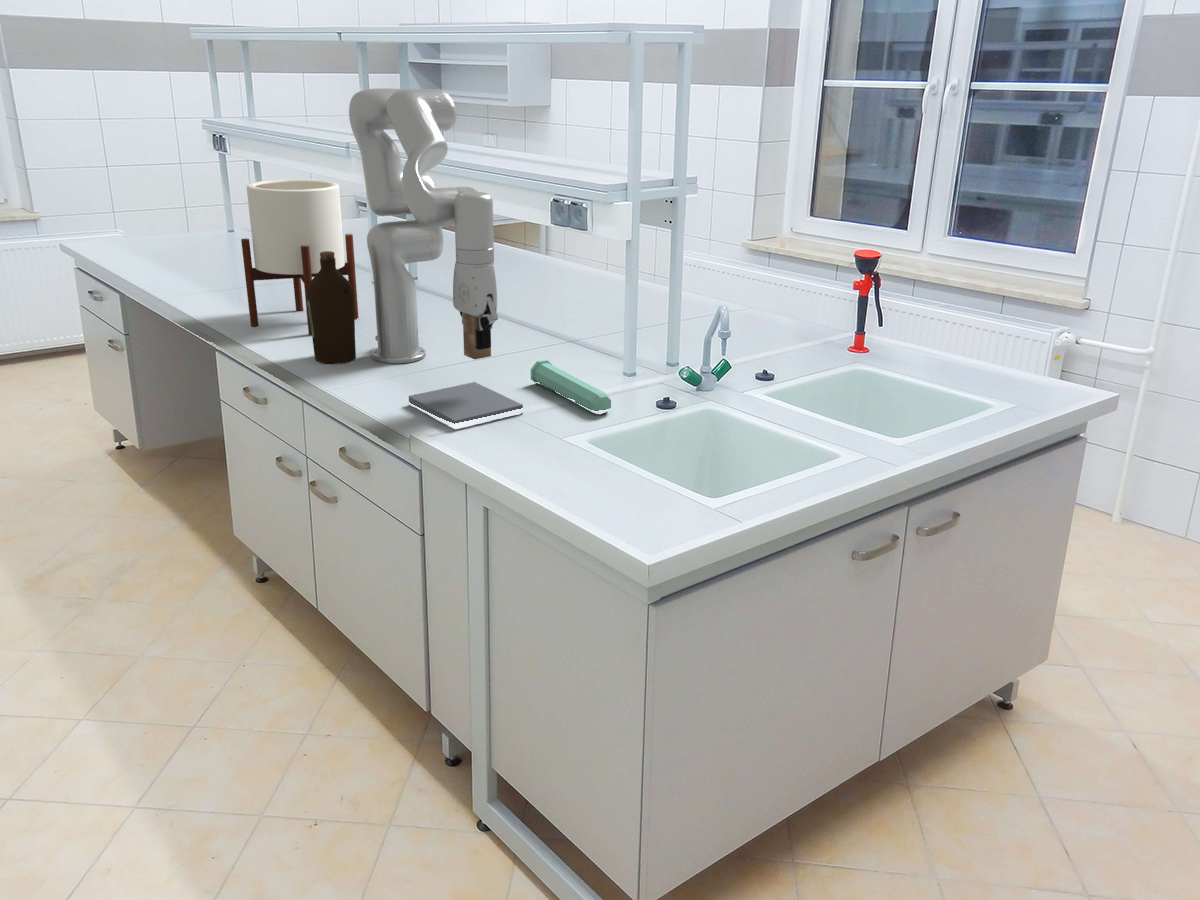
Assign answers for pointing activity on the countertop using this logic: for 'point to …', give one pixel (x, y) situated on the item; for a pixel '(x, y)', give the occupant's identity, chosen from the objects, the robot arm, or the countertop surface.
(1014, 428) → the countertop surface
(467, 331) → the block
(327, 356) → the olive oil
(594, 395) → the container
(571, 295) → the countertop surface
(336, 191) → the plant pot with stand
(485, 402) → the board
